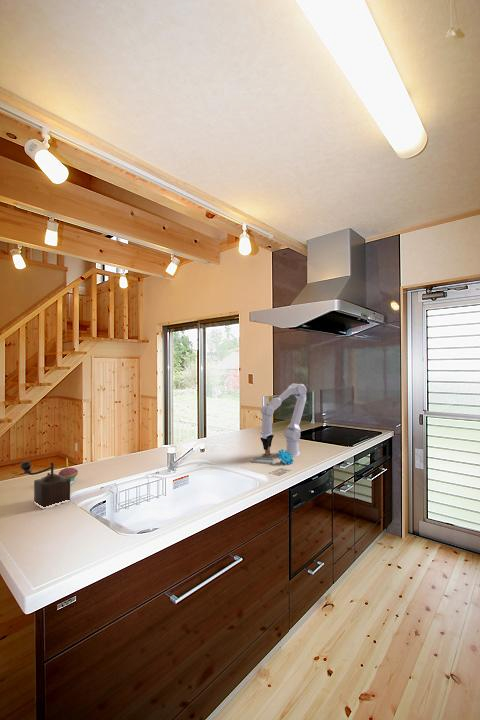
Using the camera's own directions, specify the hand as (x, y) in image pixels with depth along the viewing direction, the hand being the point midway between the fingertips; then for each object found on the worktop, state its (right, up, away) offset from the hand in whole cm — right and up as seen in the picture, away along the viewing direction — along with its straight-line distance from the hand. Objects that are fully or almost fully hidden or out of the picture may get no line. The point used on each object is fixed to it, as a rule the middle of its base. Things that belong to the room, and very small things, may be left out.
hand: (267, 448), depth 205 cm
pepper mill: (-95, -6, -67) cm, 116 cm away
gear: (+10, -6, -12) cm, 17 cm away
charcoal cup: (0, -6, 0) cm, 6 cm away
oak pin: (0, -5, 0) cm, 5 cm away
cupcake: (-99, -6, -42) cm, 107 cm away
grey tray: (-3, -6, -8) cm, 10 cm away
